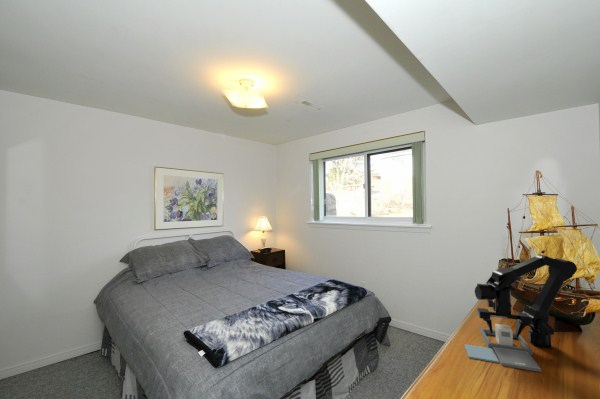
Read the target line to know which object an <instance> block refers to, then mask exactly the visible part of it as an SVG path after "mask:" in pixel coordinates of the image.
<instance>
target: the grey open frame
mask: <svg viewBox="0 0 600 399" xmlns="http://www.w3.org/2000/svg"><path fill="white" fill-rule="evenodd" d="M492 330H493V334H491V332H490V330H489V328H484V327H483V328H479V332H480V335H481V337H482V338H483V339H482V340H484V343H485V344H486V348H492V350H493V352H494V354H495V355H496V357H497V359H498V361H499V363H500V365H501V366H503V367H505V366H506V367H510V368H517V369H522V370H528V371H532V372H533V371H534V372H539V373H542V368H541V367H540V365H539V364H538V363H537V362H536V361H535V359H534V358H533V357H532V356H533V354H534V353H533V349H532V348H531V346H530V345H529V344H528V343H527V341H526V340H525V339H524V337H522V336H521V334H520V335H519V337H518V338H517V337H516V332H513V339H516V340H518V342H519V343H520V344H521V345H522V347H521V346H516V345H513V346H509V345H502V344H498V343H495V342H490V340H489V338H488V336H487V335H490V336H491V335H492V336H496V332H495V329H492Z"/></svg>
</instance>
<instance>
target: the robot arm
mask: <svg viewBox="0 0 600 399" xmlns="http://www.w3.org/2000/svg"><path fill="white" fill-rule="evenodd" d="M545 266H547V268H548V277H547V279H546V281H545V283H544V285H543V287H542V289H541V290H540V292H539V294H538V296H537V298H536V300H535V302H534V304H531V305H527V304H526V305H525V307H524V309H523V311H521V312H519V311H517V312H516V313H515V314H513V313H512V308H513V306H512V295H511V291H513V292H515V291H517V289H516V288H515V287H514V286H513V284H514V283H516V282H517V281H518V279H519V278H521V277H522V276H524V275H526V274H527V275H528V274H529V273H531V272H533V271H537V270H538V269H540V268H543V267H545ZM577 271H578V267H577V265H576V264H575V262H573V261H571V260H567V259H564V258H557V257H556V258H552V257H550V256H548V255H544V254H539V253H538V254H535V255H534V256H533V257H531V258H528V259H526V260H524V261H522V262H519V263H518V264H515V265H513V266H510V267H503V268H499V269H496V270H493V271H492V272H491V275H490V277H489V278H488V279H487V281H486V282H485V283H477V284H476V286H475V288H474V295H475V297H476V299H477V300H478V301H479V300H481V301H487V302H486V303H487V307H488V308H492V310H493V311H489V309H488V308H482V307H479V308H477V310H476V311H477V312H476V313H477V316H478V317H479V319H482V321H483V322H486V324H487V327H488V329H489V330H490V332H491V334H493V330H494V329H493V323H492V319H491V318H500V319H509V320H515V333H516V337H517V338H518V337H519V335H521V333H522V332H523V330H524V329H525V328H526V327H529V330H528V336H527V337H528V341H529V342H530V343H531V345H532V346H533V347H535V348H542V349H549V350H554V347H553V346H552V336H553V335H554V334H555V331H556V330H555V329H554V328H553V327H552V326H551V325H550V324H549V321H550V316H549V311H550V309H551V307H552V305H553V303H554V301H555V299H556V298H557V295H558V294H559V292H560V290H561V288H562V286H563V284H564V283H565V282H566V281H568V280H570V279H572V278H573V276H574V275H575V274H576V273H577ZM517 338H516V339H517Z"/></svg>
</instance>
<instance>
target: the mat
mask: <svg viewBox="0 0 600 399" xmlns="http://www.w3.org/2000/svg"><path fill="white" fill-rule="evenodd" d="M463 346H464V348H465V351H466V354H467V357H468V359H473V360H474V359H475V360H480V361H486V362H491V363H497V364H499V363H500V362H499V360H498V358H497V356H496V354H495V352H494V351H493V349H492V348H488V347H487V346H486V347H485V346H479V345H473V344H472V345H471V344H466V343H464V345H463Z"/></svg>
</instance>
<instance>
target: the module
mask: <svg viewBox="0 0 600 399" xmlns="http://www.w3.org/2000/svg"><path fill="white" fill-rule="evenodd" d="M494 325H495V326H494V327H495V328H494V330H495V332H496V335H495V340H496V342H497V344H502V345H509V346H514V338H513V333H514V332H513V329H512V328H511V326H510V325H508V324H501V323H500V324H499V323H494Z"/></svg>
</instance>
